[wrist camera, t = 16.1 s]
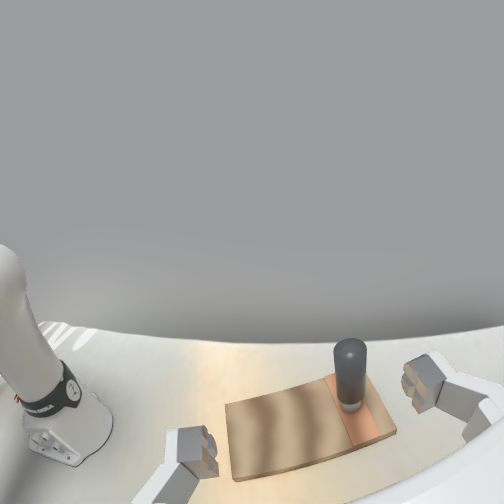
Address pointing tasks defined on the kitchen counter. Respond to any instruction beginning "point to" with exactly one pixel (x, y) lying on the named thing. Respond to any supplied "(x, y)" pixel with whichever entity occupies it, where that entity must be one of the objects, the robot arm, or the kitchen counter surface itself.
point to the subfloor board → (300, 428)
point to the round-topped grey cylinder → (350, 373)
